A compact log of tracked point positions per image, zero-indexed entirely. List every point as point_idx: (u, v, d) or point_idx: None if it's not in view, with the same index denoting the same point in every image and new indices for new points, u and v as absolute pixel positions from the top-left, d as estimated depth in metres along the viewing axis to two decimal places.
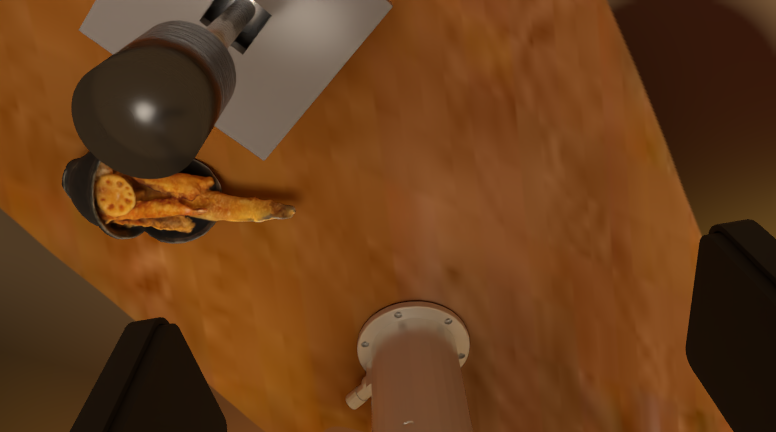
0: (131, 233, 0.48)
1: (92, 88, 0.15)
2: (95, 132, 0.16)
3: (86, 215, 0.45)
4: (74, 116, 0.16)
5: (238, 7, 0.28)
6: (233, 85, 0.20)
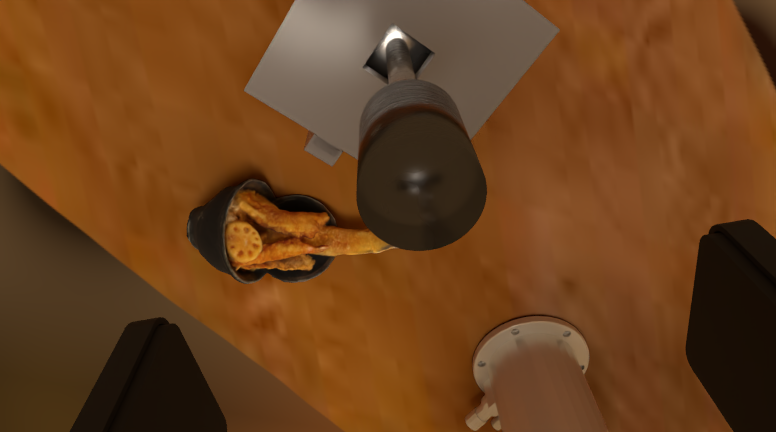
0: (256, 276, 0.48)
1: (381, 167, 0.15)
2: (377, 210, 0.16)
3: (215, 263, 0.45)
4: None
5: (402, 49, 0.27)
6: None
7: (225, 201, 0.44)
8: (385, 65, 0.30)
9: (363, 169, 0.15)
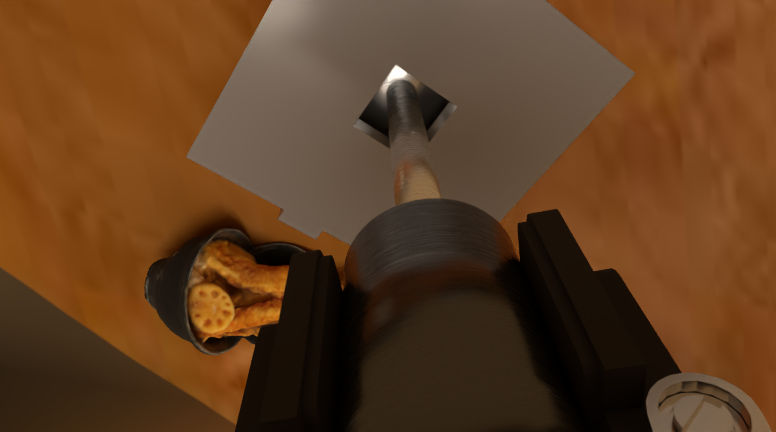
0: (229, 343, 0.40)
1: None
2: None
3: (178, 333, 0.37)
4: None
5: (410, 101, 0.19)
6: None
7: (188, 259, 0.36)
8: (385, 116, 0.22)
9: None
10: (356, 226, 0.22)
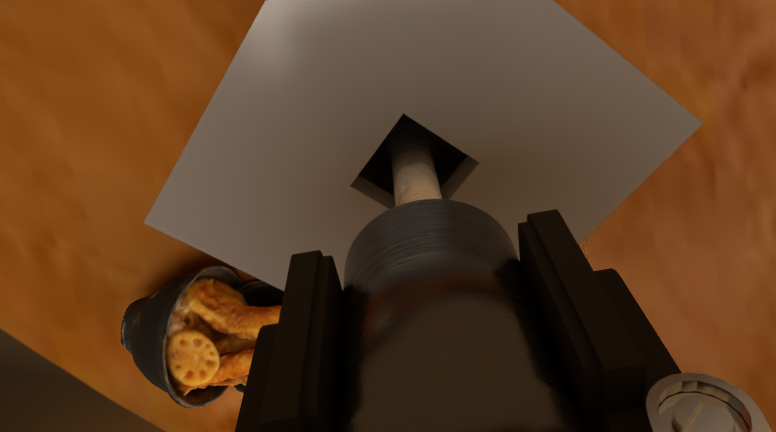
0: (215, 391, 0.36)
1: None
2: None
3: (157, 385, 0.34)
4: None
5: None
6: None
7: (168, 304, 0.32)
8: None
9: None
10: None
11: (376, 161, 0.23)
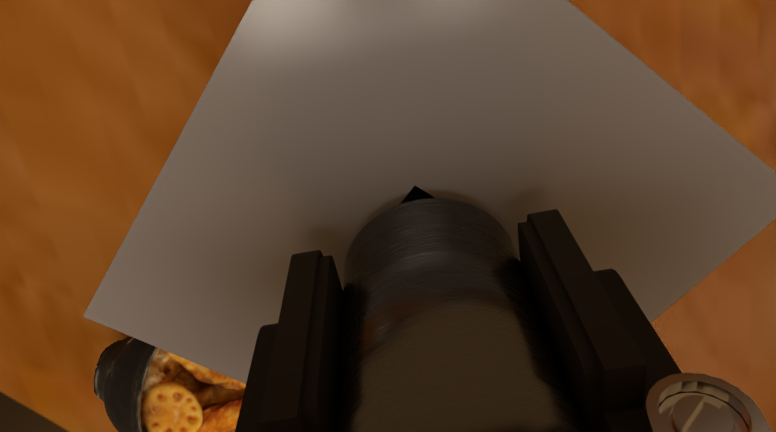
0: None
1: None
2: None
3: None
4: None
5: None
6: None
7: (144, 355, 0.29)
8: None
9: None
10: None
11: None
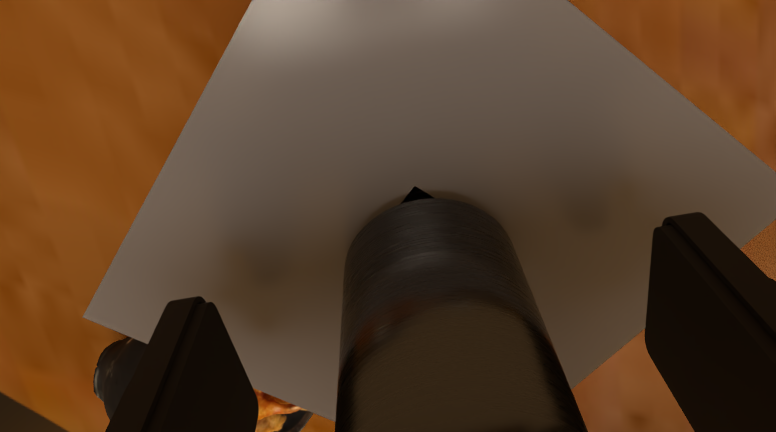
0: None
1: None
2: None
3: None
4: None
5: None
6: None
7: None
8: None
9: None
10: None
11: None
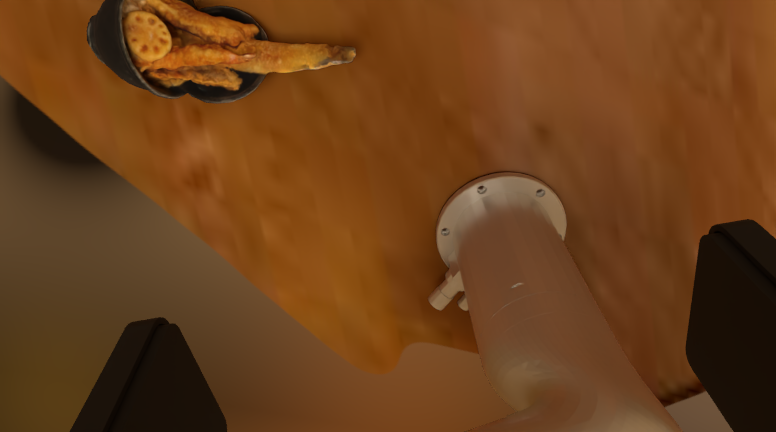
0: (171, 93, 0.41)
1: None
2: None
3: (117, 65, 0.38)
4: None
5: None
6: None
7: None
8: None
9: None
10: None
11: None
